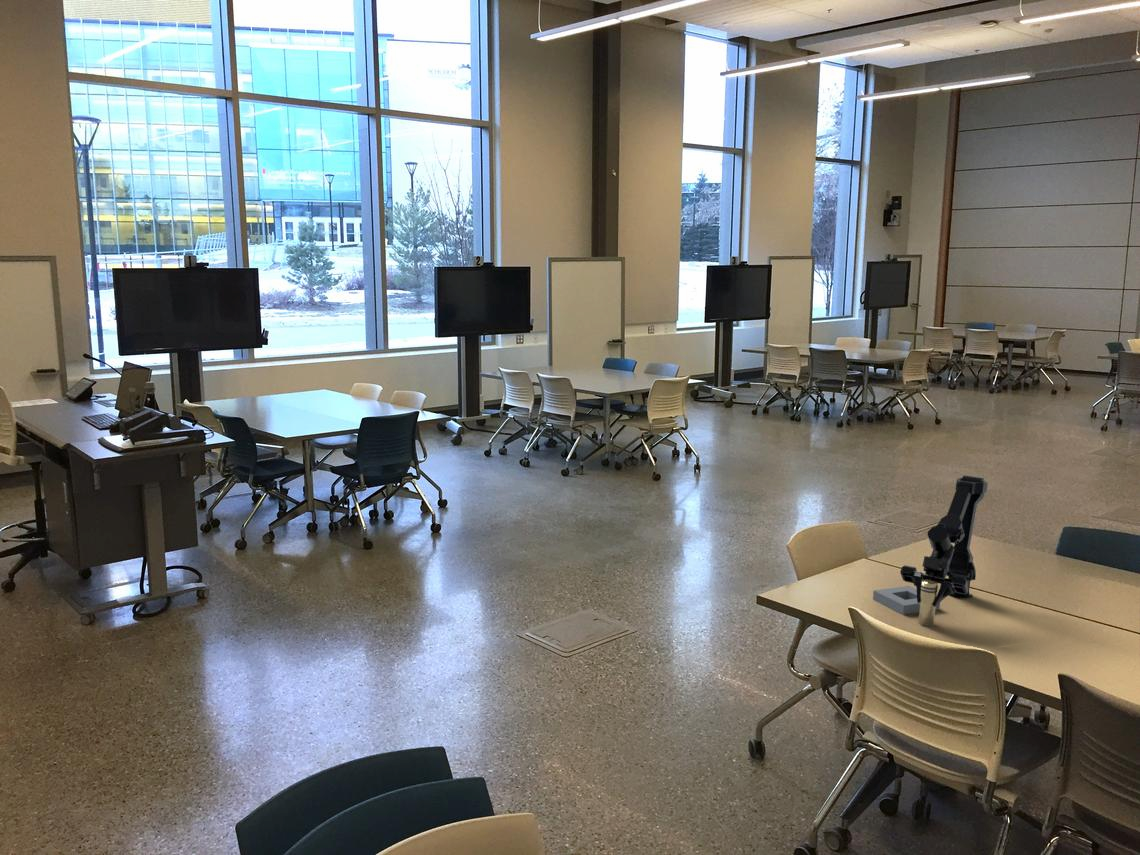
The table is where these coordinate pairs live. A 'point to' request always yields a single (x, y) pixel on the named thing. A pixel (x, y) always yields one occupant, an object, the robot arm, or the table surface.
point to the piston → (927, 603)
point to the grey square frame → (899, 599)
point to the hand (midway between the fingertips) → (926, 604)
